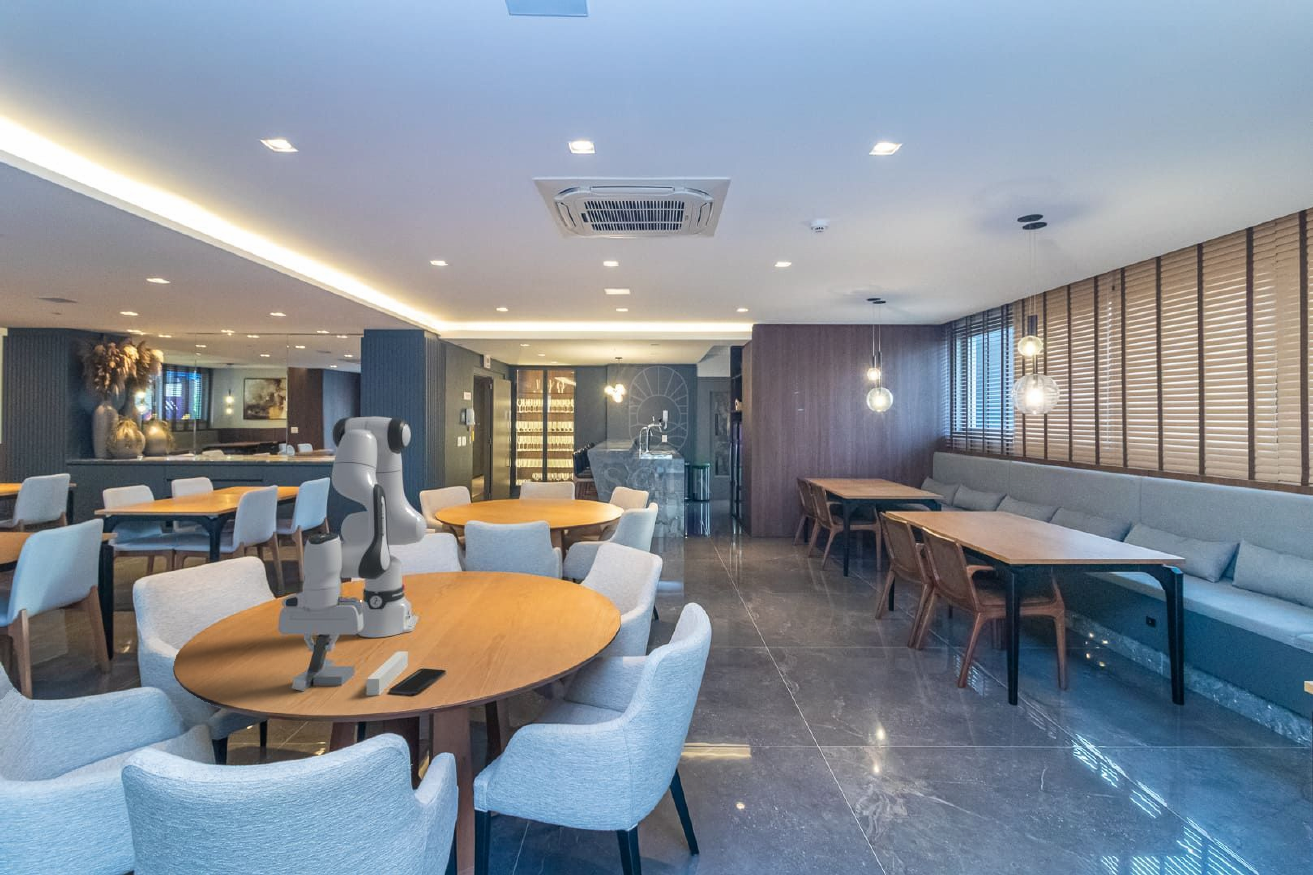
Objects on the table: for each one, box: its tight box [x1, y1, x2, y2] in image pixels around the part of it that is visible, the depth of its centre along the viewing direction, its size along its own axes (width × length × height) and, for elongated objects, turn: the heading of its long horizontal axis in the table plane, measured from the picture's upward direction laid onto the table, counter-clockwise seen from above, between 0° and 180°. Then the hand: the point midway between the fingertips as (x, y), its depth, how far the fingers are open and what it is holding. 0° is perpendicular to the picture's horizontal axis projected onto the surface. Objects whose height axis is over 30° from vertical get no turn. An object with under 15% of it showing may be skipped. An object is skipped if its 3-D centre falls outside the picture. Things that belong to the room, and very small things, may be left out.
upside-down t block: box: [291, 635, 335, 692], centre depth 154 cm, size 14×3×12 cm, turn 2°
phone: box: [388, 667, 447, 697], centre depth 154 cm, size 8×1×15 cm
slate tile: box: [312, 665, 355, 687], centre depth 155 cm, size 7×7×2 cm
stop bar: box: [366, 651, 409, 696], centre depth 155 cm, size 19×3×4 cm, turn 3°
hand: (321, 650), depth 154 cm, fingers closed on upside-down t block, 3 cm apart
